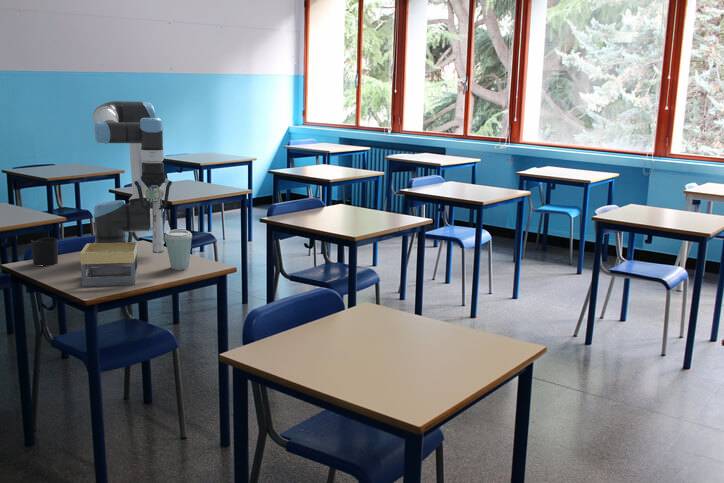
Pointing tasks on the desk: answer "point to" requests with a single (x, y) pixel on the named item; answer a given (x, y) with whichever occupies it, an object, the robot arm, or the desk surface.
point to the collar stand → (109, 254)
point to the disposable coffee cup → (178, 248)
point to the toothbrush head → (156, 217)
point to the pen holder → (45, 251)
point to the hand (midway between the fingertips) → (154, 226)
